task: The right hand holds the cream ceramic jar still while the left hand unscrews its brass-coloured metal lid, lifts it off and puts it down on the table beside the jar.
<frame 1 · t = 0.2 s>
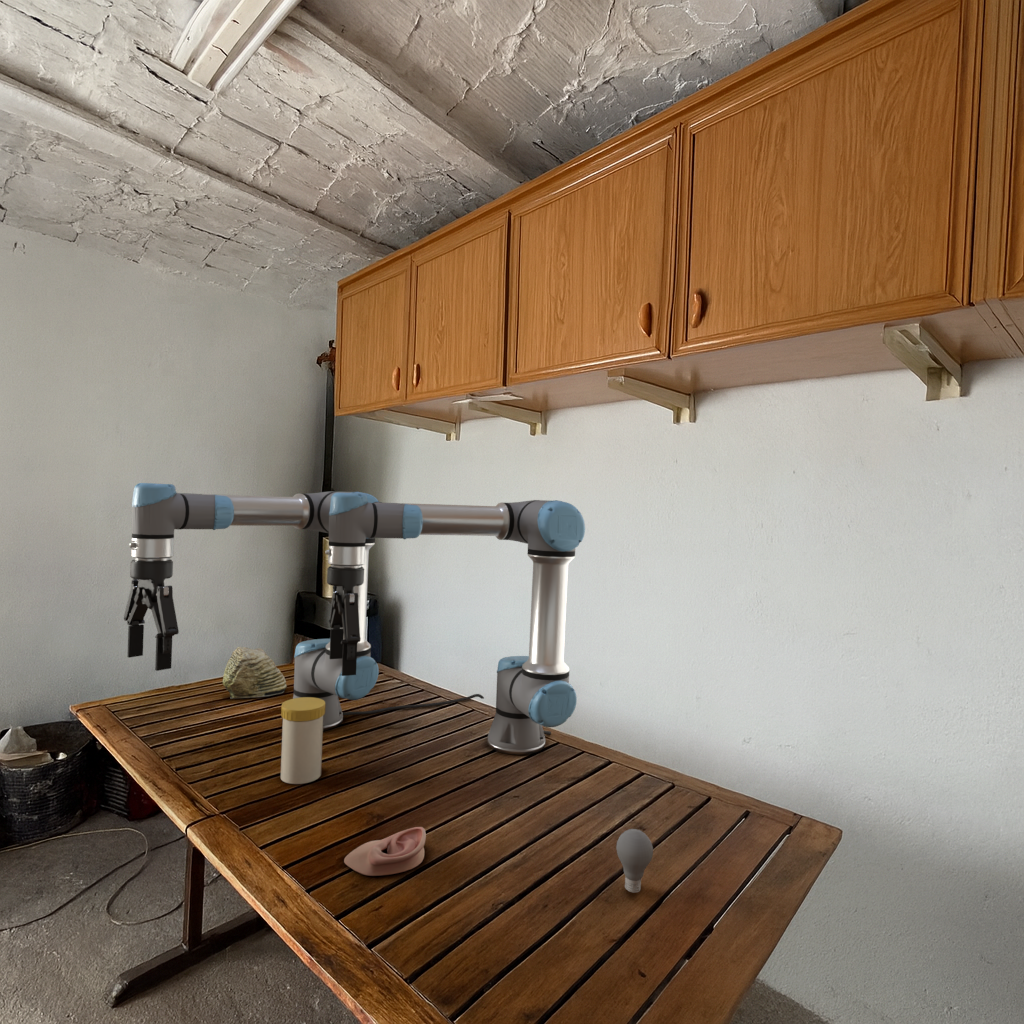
left hand: (148, 662, 129), 28 cm above the table, tool pointing down, fingers open, 13 cm apart
right hand: (342, 666, 133), 28 cm above the table, tool pointing down, fingers open, 13 cm apart
lid: (303, 705, 143), point 16 cm above the table, screwed on, not yet turned
anatomical model: (385, 859, 112), on the table
jar: (301, 775, 143), on the table
fossil: (254, 694, 198), on the table
light bulb: (632, 891, 106), on the table
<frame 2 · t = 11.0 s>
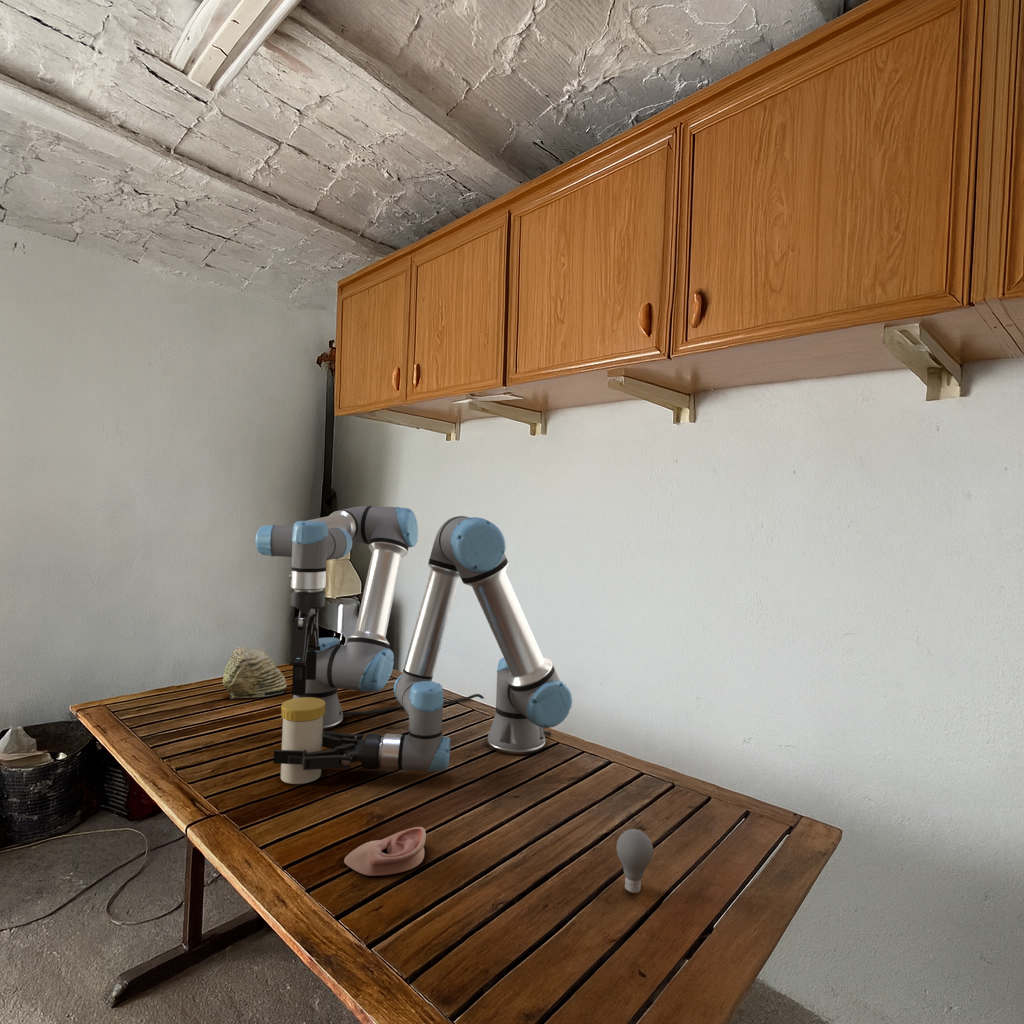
left hand: (304, 686, 143), 20 cm above the table, tool pointing down, fingers open, 11 cm apart
right hand: (281, 748, 143), 6 cm above the table, tool horizontal, fingers closed on jar, 9 cm apart
jar: (301, 775, 143), on the table, touching right hand
everything else where it was.
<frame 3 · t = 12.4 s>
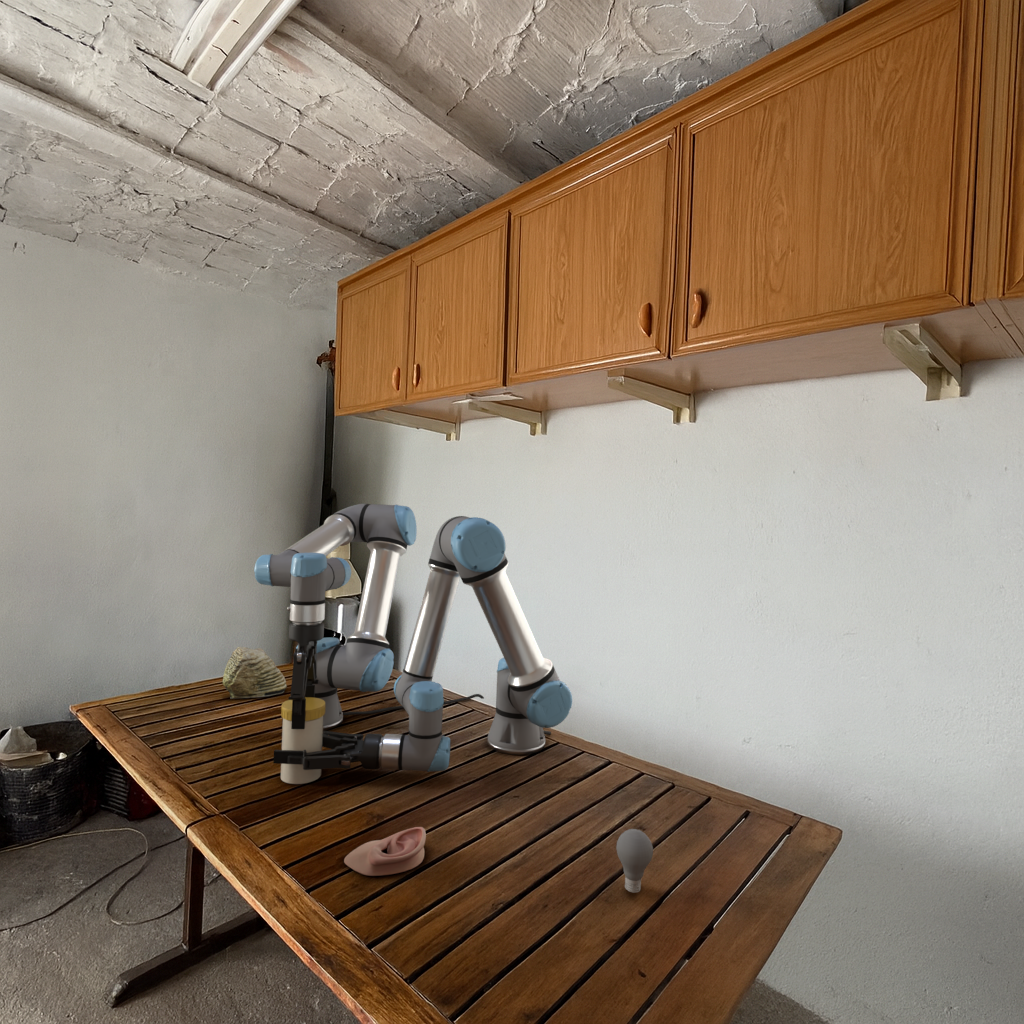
left hand: (303, 720, 143), 13 cm above the table, tool pointing down, fingers closed on lid, 9 cm apart
right hand: (281, 748, 143), 6 cm above the table, tool horizontal, fingers closed on jar, 9 cm apart
lid: (303, 705, 143), point 16 cm above the table, screwed on, not yet turned, touching left hand
jar: (301, 775, 143), on the table, touching right hand
everything else where it was.
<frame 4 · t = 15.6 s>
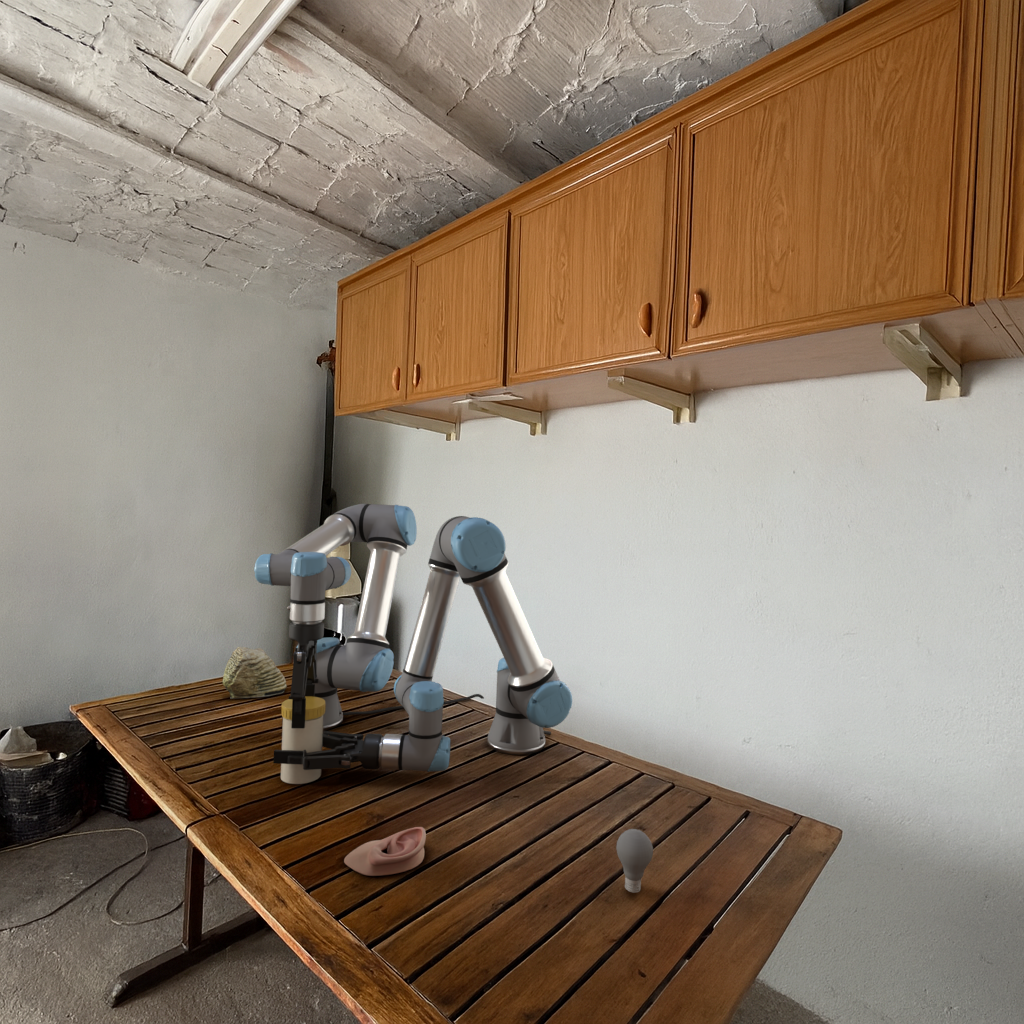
left hand: (303, 719, 143), 13 cm above the table, tool pointing down, fingers closed on lid, 9 cm apart
right hand: (281, 748, 143), 6 cm above the table, tool horizontal, fingers closed on jar, 9 cm apart
lid: (303, 704, 143), point 16 cm above the table, turned 84° so far, risen 0.2 cm, still on its thread, touching left hand
jar: (301, 775, 143), on the table, touching right hand
everything else where it was.
when the left hand's fingers open (0 cm above the table, at t = 21.8 s): lid drops 2 cm, point 2 cm above the table.
when the right hand's fingers open (6 cm above the table, at t = 22.9 s): jar stays where it is, on the table.
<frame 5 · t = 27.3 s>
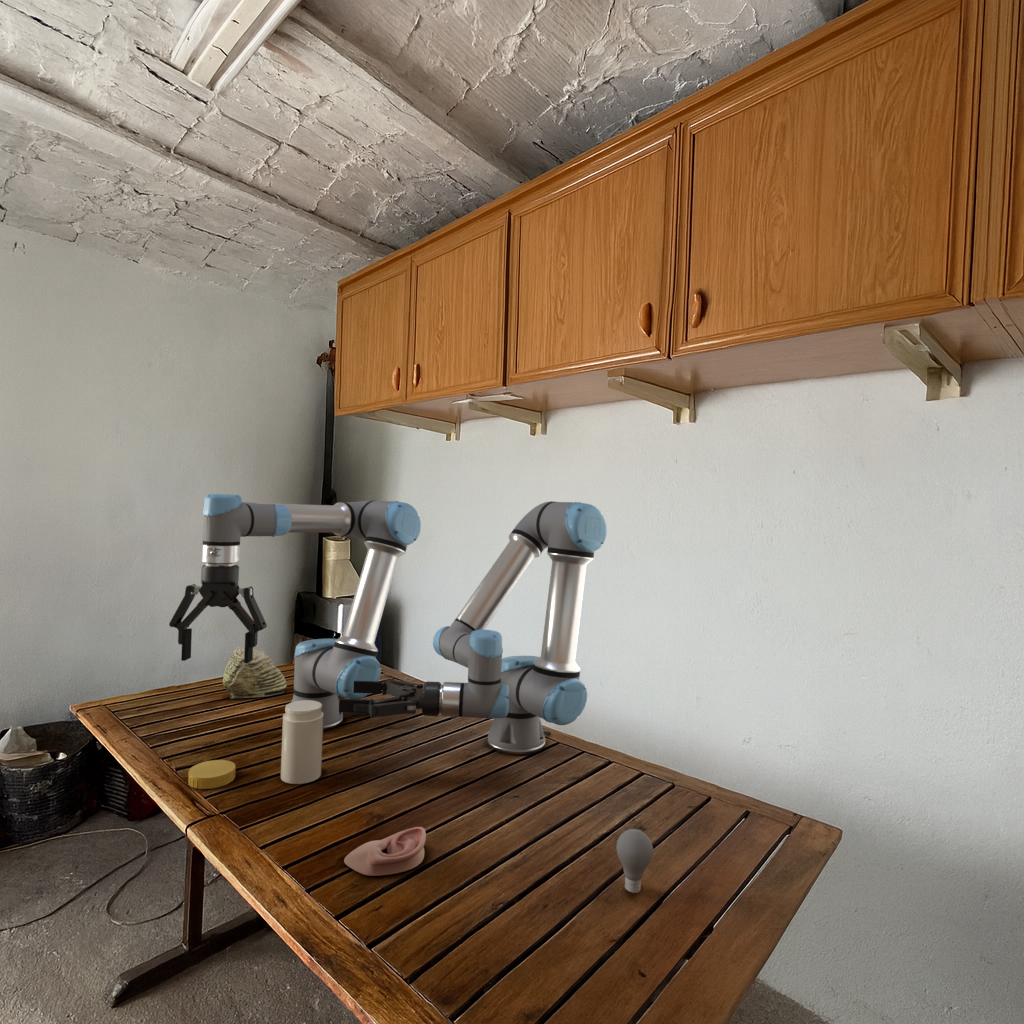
left hand: (217, 660, 139), 26 cm above the table, tool pointing down, fingers open, 13 cm apart
right hand: (346, 695, 143), 19 cm above the table, tool horizontal, fingers open, 13 cm apart
lid: (212, 770, 140), point 2 cm above the table, off its thread
jar: (301, 775, 143), on the table
everything else where it was.
at the end: lid came off its thread; lid point 2.1 cm above the table; the left hand is holding nothing; the right hand is holding nothing; jar tilted 0°; jar moved 0.0 cm from its start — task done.
